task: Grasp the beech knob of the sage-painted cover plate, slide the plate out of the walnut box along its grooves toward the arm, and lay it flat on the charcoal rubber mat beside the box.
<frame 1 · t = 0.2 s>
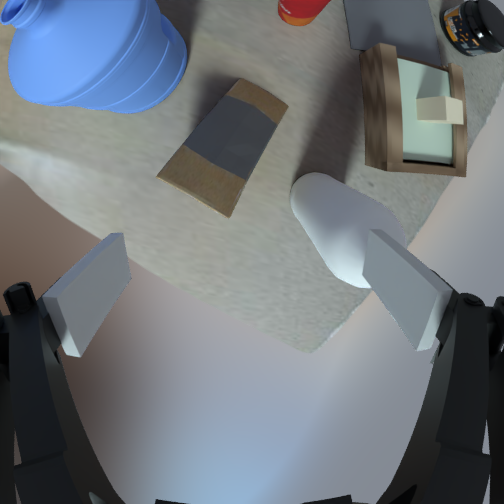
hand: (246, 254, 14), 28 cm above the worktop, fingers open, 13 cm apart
sandwich container: (237, 133, 38), on the worktop
cover plate: (422, 111, 31), point 5 cm above the worktop, touching walnut box
walnut box: (405, 113, 36), on the worktop
bottle: (314, 197, 42), on the worktop
paper cup: (295, 12, 30), on the worktop
water jug: (138, 66, 33), on the worktop
supplement container: (457, 33, 28), on the worktop
charcoal mat: (392, 13, 29), on the worktop
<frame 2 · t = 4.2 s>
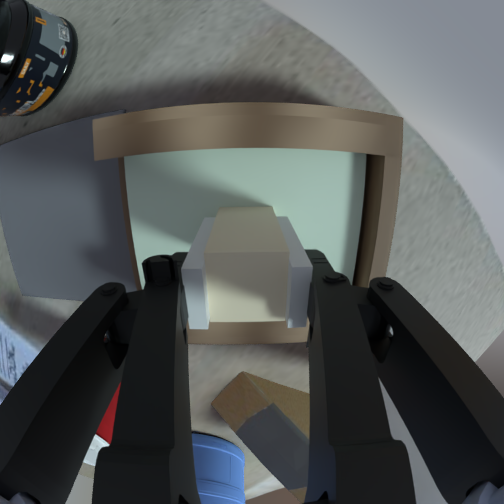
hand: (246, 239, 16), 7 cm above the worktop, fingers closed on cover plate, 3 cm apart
sandwich container: (274, 403, 33), on the worktop
cover plate: (245, 227, 18), point 5 cm above the worktop, touching gripper, walnut box
walnut box: (248, 208, 23), on the worktop
bottle: (369, 345, 30), on the worktop
paper cup: (116, 354, 29), on the worktop
water jug: (199, 450, 39), on the worktop
supplement container: (42, 66, 16), on the worktop
charcoal mat: (55, 218, 22), on the worktop
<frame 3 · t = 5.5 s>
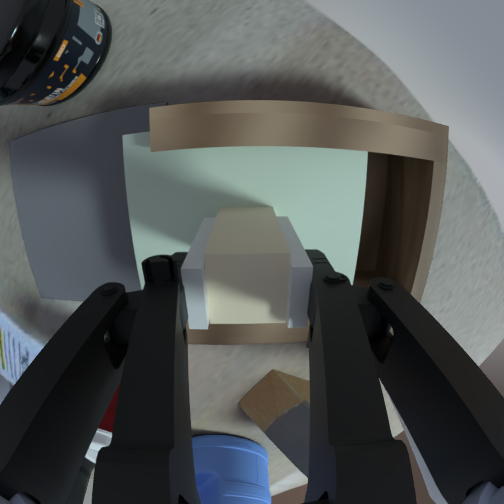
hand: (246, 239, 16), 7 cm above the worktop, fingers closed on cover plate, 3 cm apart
sandwich container: (301, 401, 33), on the worktop
cover plate: (246, 228, 18), point 5 cm above the worktop, touching gripper
walnut box: (293, 207, 23), on the worktop
bottle: (397, 340, 30), on the worktop
paper cup: (144, 357, 29), on the worktop
water jug: (221, 451, 39), on the worktop
supplement container: (69, 54, 16), on the worktop
charcoal mat: (83, 216, 22), on the worktop
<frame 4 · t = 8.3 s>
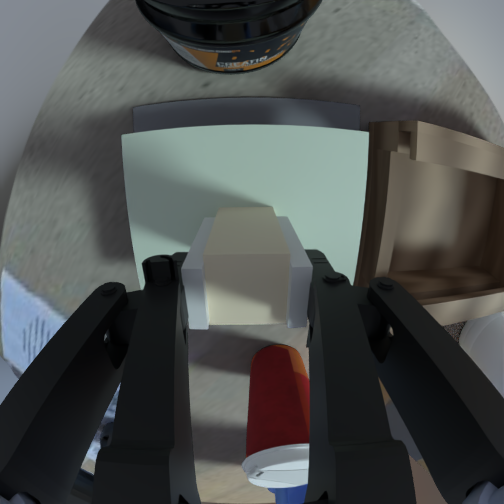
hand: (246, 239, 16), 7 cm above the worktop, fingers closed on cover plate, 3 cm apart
sandwich container: (397, 385, 33), on the worktop
cover plate: (246, 228, 18), point 5 cm above the worktop, touching gripper
walnut box: (440, 214, 23), on the worktop
bottle: (476, 325, 30), on the worktop
paper cup: (276, 361, 30), on the worktop
water jug: (308, 448, 39), on the worktop
supplement container: (233, 22, 17), on the worktop
charcoal mat: (247, 209, 23), on the worktop
when the fingers open (4 cm above the worktop, at t = 9.0 s): cover plate drops 2 cm, resting on charcoal mat.
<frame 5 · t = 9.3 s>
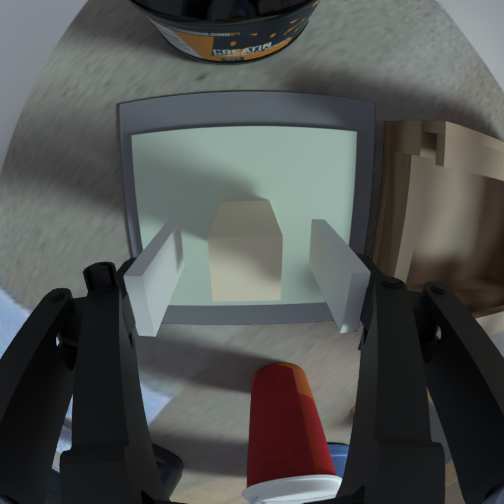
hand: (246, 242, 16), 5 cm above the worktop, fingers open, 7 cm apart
sandwich container: (403, 398, 31), on the worktop
cover plate: (245, 220, 20), resting on charcoal mat
walnut box: (456, 223, 21), on the worktop
bottle: (486, 336, 27), on the worktop
paper cup: (279, 379, 27), on the worktop
water jug: (311, 461, 37), on the worktop
supplement container: (233, 9, 14), on the worktop
charcoal mat: (248, 219, 20), on the worktop
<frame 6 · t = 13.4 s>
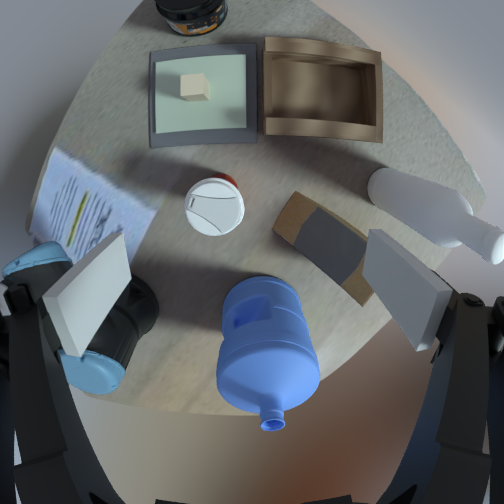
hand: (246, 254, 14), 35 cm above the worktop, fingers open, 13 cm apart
sandwich container: (317, 229, 51), on the worktop
cover plate: (200, 92, 40), resting on charcoal mat
walnut box: (315, 94, 41), on the worktop
bottle: (384, 187, 48), on the worktop
paper cup: (221, 189, 48), on the worktop
water jug: (261, 307, 57), on the worktop
supplement container: (198, 15, 35), on the worktop
charcoal mat: (201, 93, 41), on the worktop
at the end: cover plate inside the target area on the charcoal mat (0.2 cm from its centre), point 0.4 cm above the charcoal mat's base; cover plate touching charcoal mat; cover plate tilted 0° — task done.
